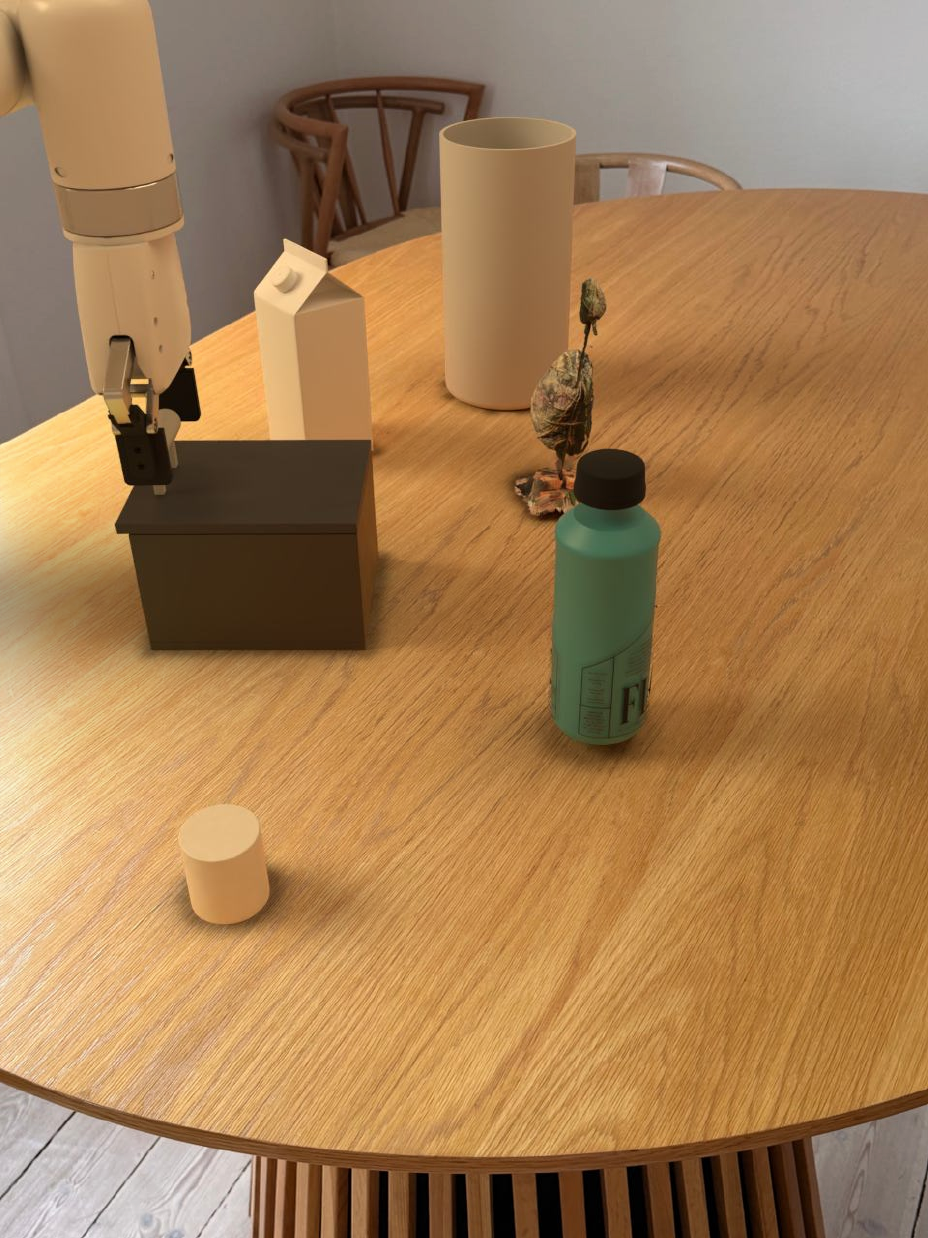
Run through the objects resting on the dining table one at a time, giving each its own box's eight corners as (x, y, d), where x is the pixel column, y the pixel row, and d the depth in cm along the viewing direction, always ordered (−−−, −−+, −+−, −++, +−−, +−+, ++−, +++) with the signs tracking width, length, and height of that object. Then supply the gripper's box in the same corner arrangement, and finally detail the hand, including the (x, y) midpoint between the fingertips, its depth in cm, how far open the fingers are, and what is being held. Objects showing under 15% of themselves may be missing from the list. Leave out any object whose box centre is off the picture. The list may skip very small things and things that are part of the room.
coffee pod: (175, 898, 69) (161, 834, 66) (236, 855, 71) (225, 792, 68) (224, 938, 66) (212, 874, 63) (285, 892, 69) (276, 829, 66)
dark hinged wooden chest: (151, 651, 88) (128, 534, 82) (186, 559, 98) (168, 450, 93) (365, 651, 88) (357, 534, 82) (378, 558, 98) (371, 449, 92)
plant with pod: (610, 466, 111) (623, 247, 99) (600, 528, 102) (613, 295, 90) (522, 459, 112) (525, 243, 100) (504, 521, 103) (505, 290, 91)
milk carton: (334, 426, 118) (319, 230, 107) (374, 453, 113) (362, 250, 103) (270, 446, 115) (247, 246, 104) (308, 475, 110) (288, 268, 99)
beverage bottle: (623, 777, 76) (645, 498, 65) (528, 745, 79) (534, 471, 68) (661, 719, 81) (689, 449, 70) (571, 690, 84) (583, 425, 72)
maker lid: (116, 534, 82) (102, 465, 79) (157, 449, 93) (146, 386, 90) (357, 533, 82) (352, 464, 79) (371, 448, 92) (367, 385, 89)
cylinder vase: (458, 418, 119) (453, 153, 105) (435, 369, 129) (428, 121, 115) (581, 406, 121) (592, 144, 107) (549, 358, 131) (556, 113, 117)
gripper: (97, 168, 83) (141, 399, 93) (17, 249, 69) (78, 512, 79) (206, 166, 83) (238, 398, 93) (148, 247, 69) (193, 510, 79)
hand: (165, 450), depth 86 cm, fingers open, 9 cm apart
